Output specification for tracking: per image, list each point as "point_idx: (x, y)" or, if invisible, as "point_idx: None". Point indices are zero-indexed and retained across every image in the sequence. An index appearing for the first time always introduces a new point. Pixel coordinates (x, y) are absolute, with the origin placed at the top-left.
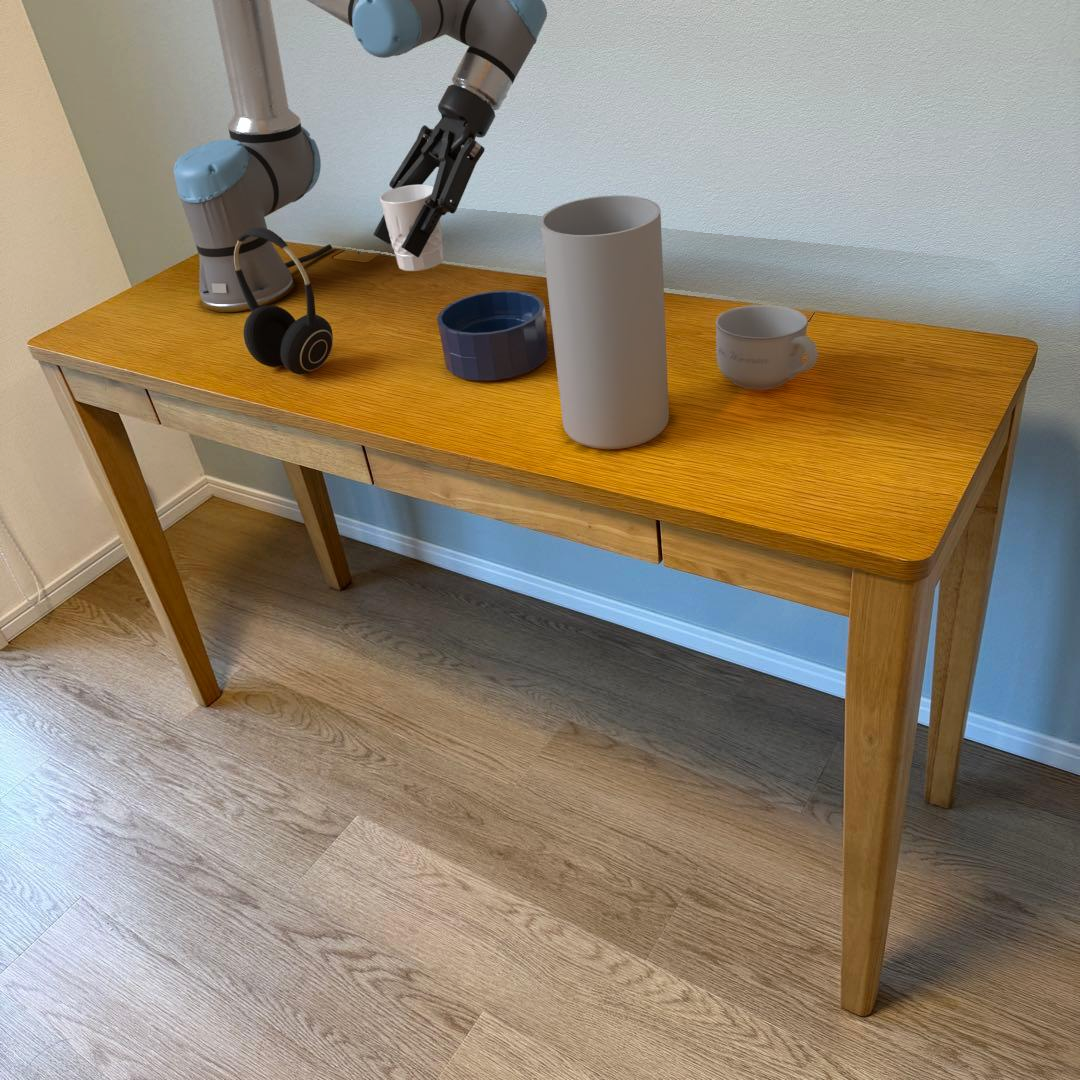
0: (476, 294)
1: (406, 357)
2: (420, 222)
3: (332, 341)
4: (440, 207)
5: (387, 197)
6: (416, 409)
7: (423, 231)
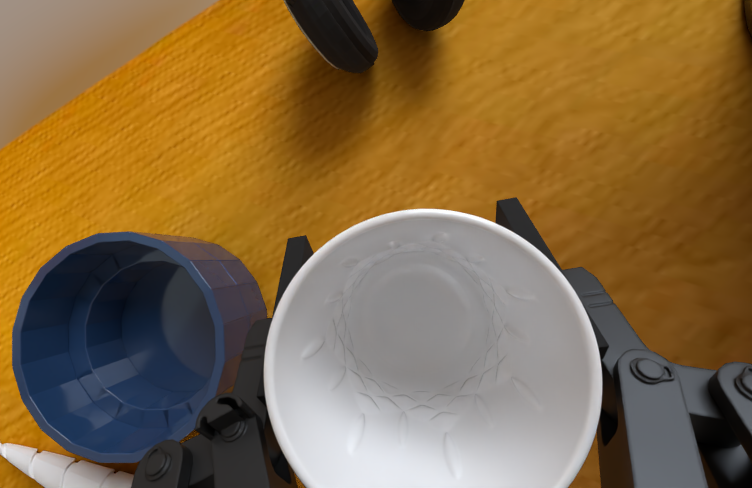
0: (218, 362)
1: (296, 200)
2: None
3: (330, 64)
4: (190, 439)
5: (542, 281)
6: (118, 154)
7: None
